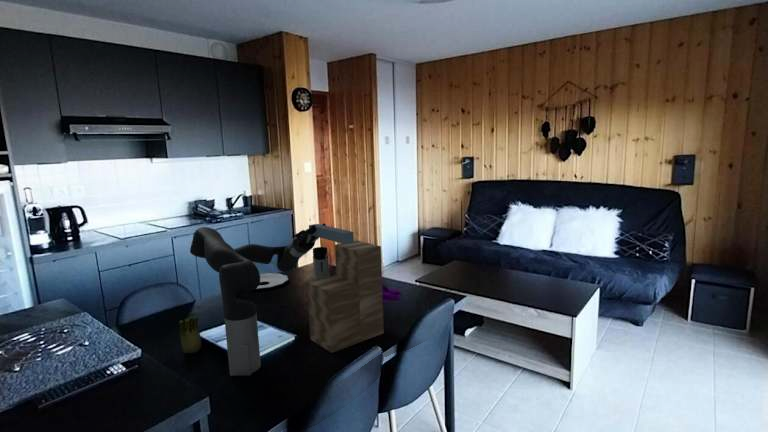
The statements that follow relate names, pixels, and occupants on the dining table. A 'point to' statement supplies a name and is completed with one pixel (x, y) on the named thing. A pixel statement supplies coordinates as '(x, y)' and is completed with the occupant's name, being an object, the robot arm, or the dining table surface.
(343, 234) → the blue-gray bar
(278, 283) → the plate
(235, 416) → the dining table surface
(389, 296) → the cloth
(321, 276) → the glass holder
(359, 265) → the plinth
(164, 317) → the dining table surface
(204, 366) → the dining table surface
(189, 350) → the fennel bulb
